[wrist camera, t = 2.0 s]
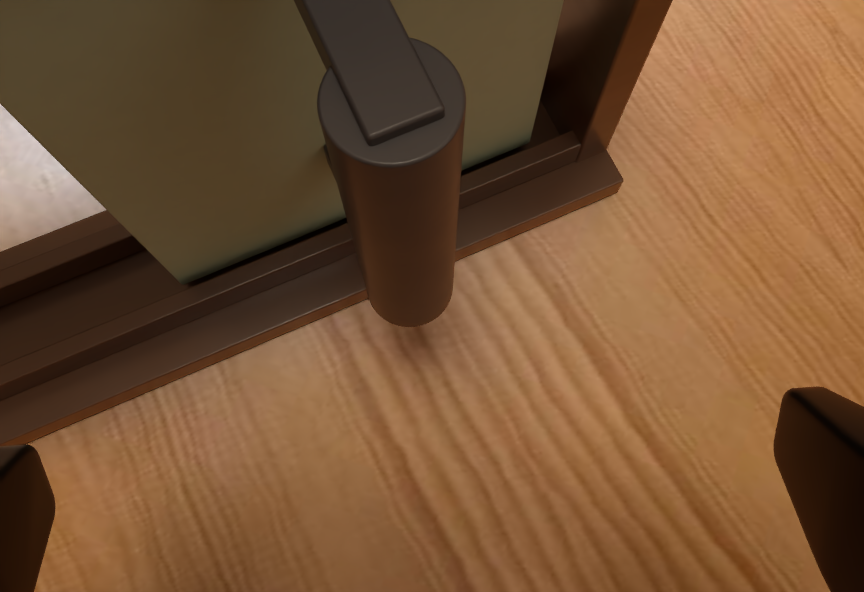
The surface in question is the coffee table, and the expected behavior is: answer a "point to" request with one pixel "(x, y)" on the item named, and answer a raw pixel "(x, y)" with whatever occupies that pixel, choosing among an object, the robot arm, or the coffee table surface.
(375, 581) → the coffee table surface
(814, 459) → the robot arm
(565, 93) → the door frame
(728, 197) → the coffee table surface
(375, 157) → the door
